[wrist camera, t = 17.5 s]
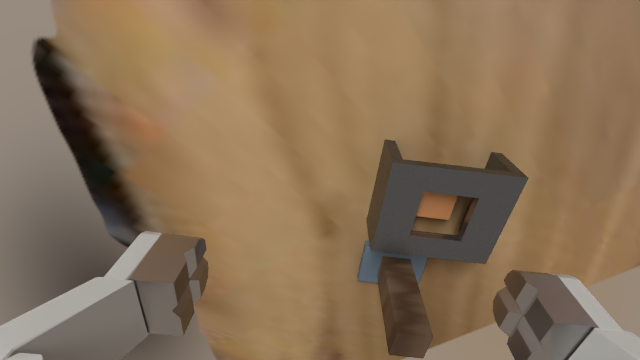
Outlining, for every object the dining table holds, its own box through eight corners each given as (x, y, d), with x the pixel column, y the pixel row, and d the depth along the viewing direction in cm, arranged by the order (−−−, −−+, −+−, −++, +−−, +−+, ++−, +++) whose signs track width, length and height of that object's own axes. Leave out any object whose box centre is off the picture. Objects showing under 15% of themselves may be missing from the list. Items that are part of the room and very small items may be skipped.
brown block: (410, 258, 45) (432, 337, 35) (403, 278, 47) (423, 358, 37) (382, 255, 45) (396, 333, 35) (377, 275, 47) (388, 354, 37)
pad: (428, 247, 45) (429, 252, 44) (415, 282, 49) (416, 287, 48) (365, 240, 45) (366, 245, 44) (357, 275, 48) (357, 280, 48)
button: (454, 176, 39) (461, 186, 37) (442, 208, 41) (448, 219, 39) (416, 172, 39) (420, 182, 37) (406, 204, 41) (410, 215, 39)
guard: (501, 153, 38) (528, 178, 32) (467, 232, 43) (485, 263, 38) (384, 139, 37) (392, 162, 32) (366, 220, 43) (370, 251, 38)
